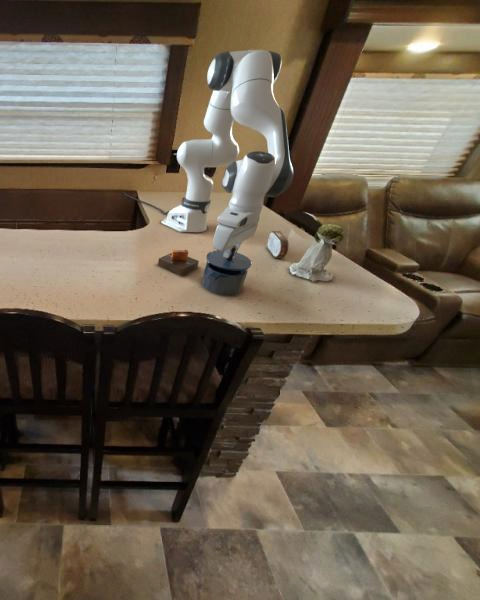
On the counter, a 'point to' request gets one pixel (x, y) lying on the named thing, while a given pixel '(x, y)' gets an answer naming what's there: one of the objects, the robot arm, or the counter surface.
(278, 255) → the tin
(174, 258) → the block
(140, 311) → the counter surface
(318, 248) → the mossy white figurine
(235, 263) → the pot lid
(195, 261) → the handle block
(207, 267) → the pot
